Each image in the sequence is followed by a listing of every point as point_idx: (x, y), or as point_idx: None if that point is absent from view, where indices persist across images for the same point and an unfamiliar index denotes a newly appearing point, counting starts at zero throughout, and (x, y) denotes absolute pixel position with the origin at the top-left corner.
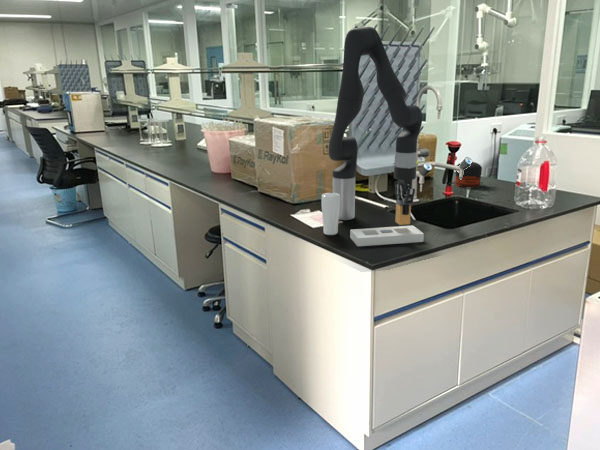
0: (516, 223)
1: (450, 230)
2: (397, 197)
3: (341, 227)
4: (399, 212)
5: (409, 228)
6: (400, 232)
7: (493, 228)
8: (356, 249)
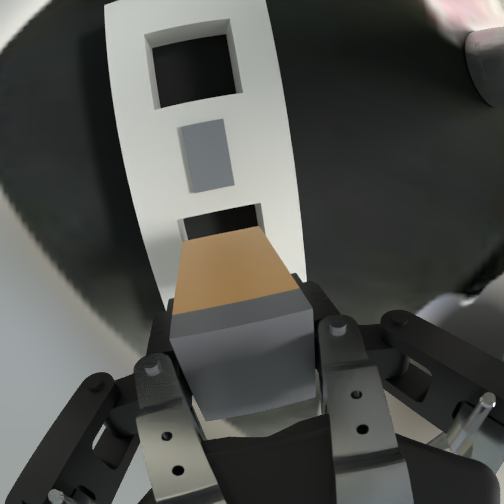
0: None
1: (307, 400)
2: (355, 334)
3: (392, 6)
4: (186, 278)
5: None
6: None
7: None
8: (81, 21)
